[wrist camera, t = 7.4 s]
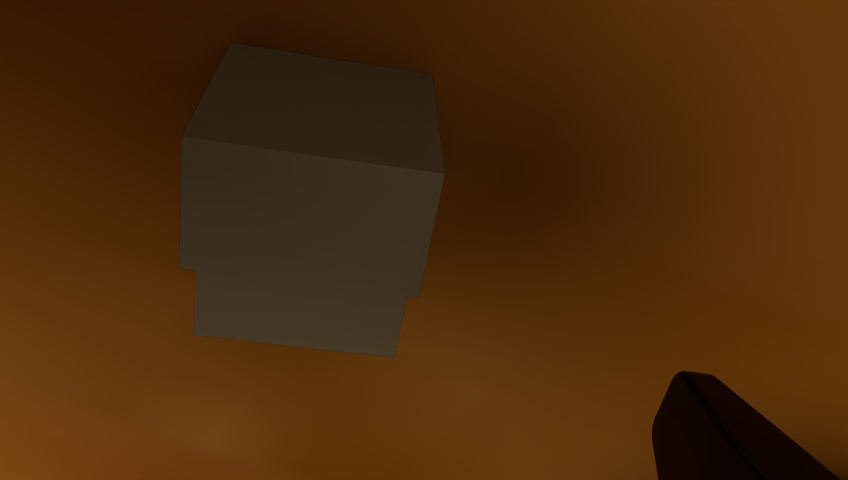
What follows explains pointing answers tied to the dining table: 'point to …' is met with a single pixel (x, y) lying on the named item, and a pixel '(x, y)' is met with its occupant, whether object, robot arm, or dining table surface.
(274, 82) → the chock
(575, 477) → the dining table surface
